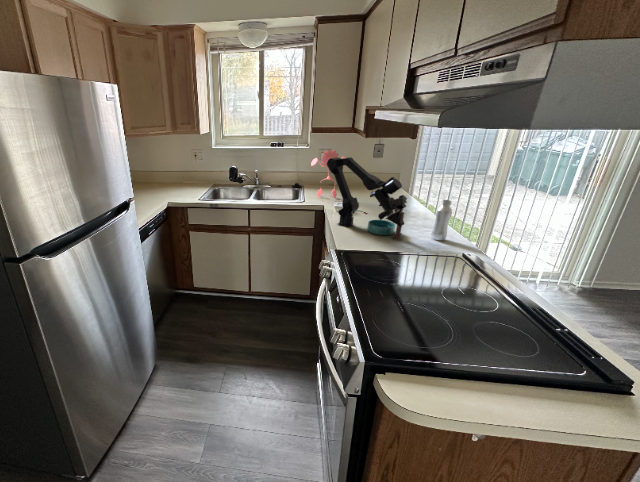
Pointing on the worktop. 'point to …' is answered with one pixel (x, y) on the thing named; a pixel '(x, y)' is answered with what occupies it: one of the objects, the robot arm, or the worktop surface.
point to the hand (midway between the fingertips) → (402, 225)
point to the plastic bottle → (442, 221)
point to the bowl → (381, 227)
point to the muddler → (399, 227)
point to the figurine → (325, 158)
